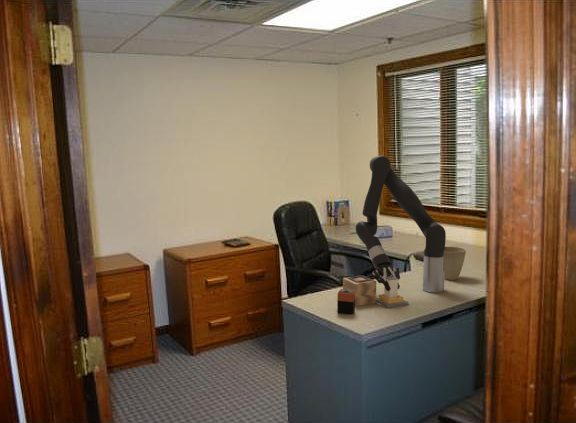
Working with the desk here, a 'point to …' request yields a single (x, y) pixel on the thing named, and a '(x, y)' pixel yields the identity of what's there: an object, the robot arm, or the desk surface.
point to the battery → (346, 302)
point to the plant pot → (453, 262)
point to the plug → (392, 287)
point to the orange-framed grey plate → (391, 301)
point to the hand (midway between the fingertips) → (393, 289)
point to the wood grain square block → (361, 289)
